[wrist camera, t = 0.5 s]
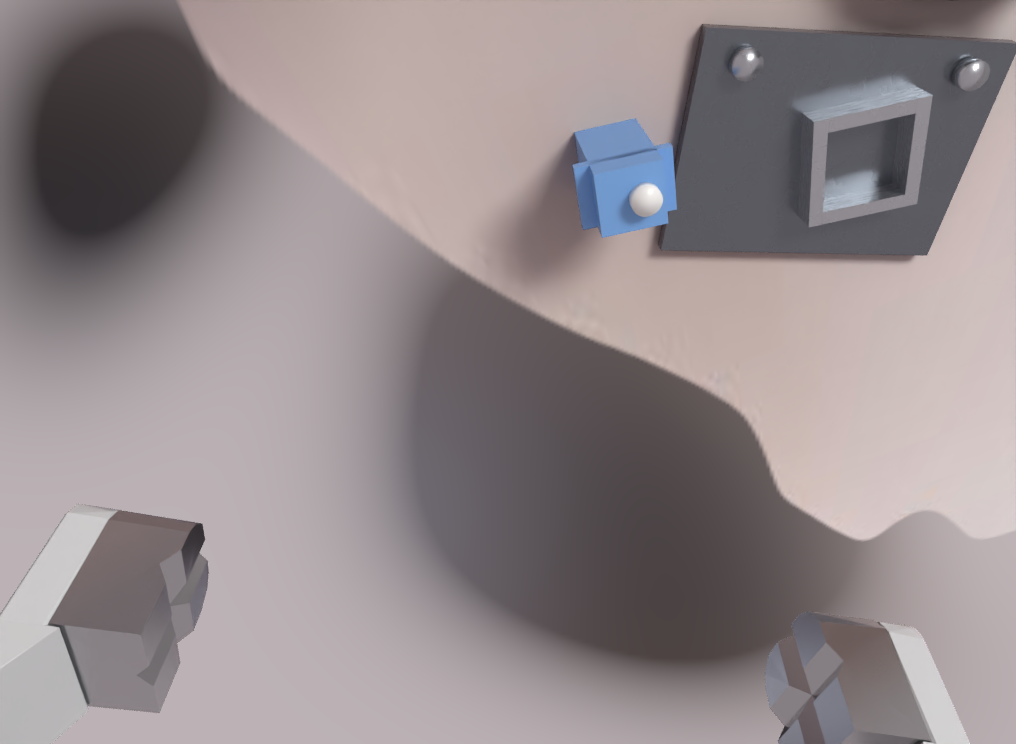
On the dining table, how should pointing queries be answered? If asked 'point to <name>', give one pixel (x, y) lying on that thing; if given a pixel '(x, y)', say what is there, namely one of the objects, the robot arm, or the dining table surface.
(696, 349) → the dining table surface
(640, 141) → the block
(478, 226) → the dining table surface
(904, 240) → the plate
